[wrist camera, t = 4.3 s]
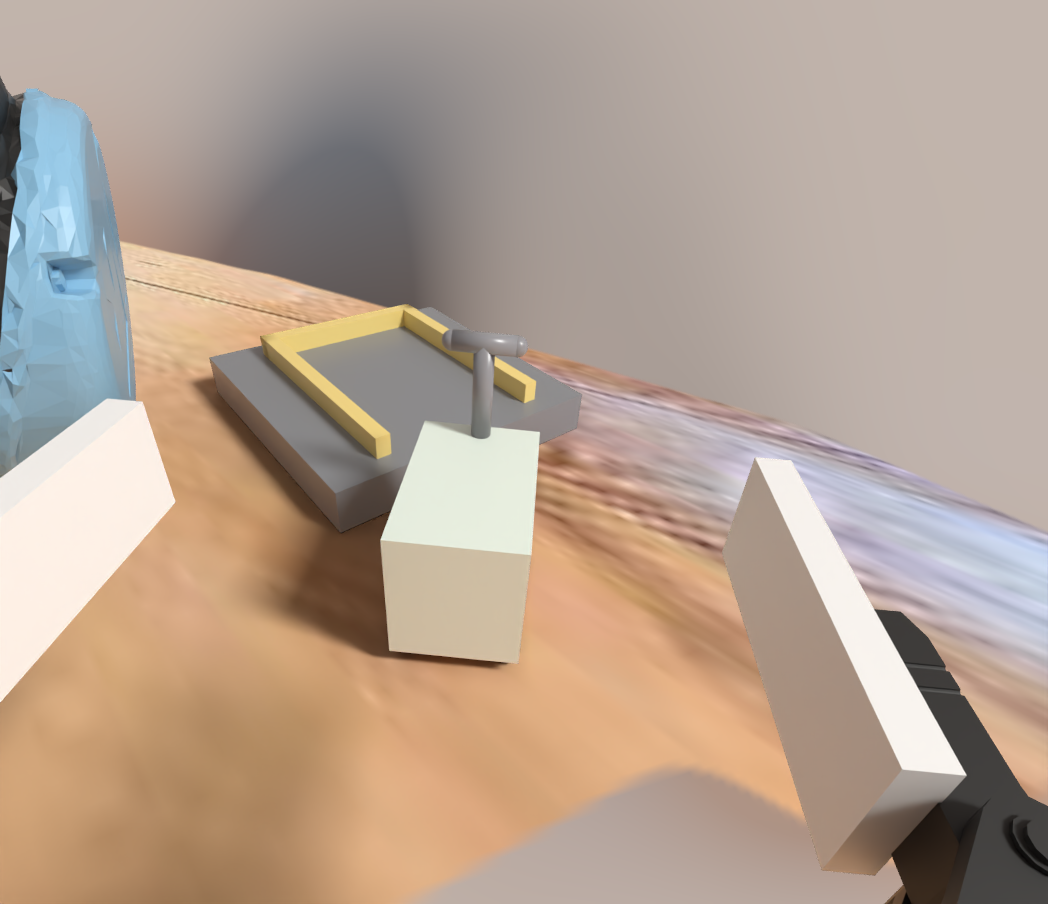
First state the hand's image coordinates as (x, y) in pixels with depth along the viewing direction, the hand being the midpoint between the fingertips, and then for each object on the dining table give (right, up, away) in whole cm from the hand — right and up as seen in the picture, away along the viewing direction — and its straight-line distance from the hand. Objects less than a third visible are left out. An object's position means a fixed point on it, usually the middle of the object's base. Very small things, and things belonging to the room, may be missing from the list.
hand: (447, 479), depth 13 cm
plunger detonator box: (-1, -7, +19) cm, 20 cm away
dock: (-8, +4, +33) cm, 35 cm away
